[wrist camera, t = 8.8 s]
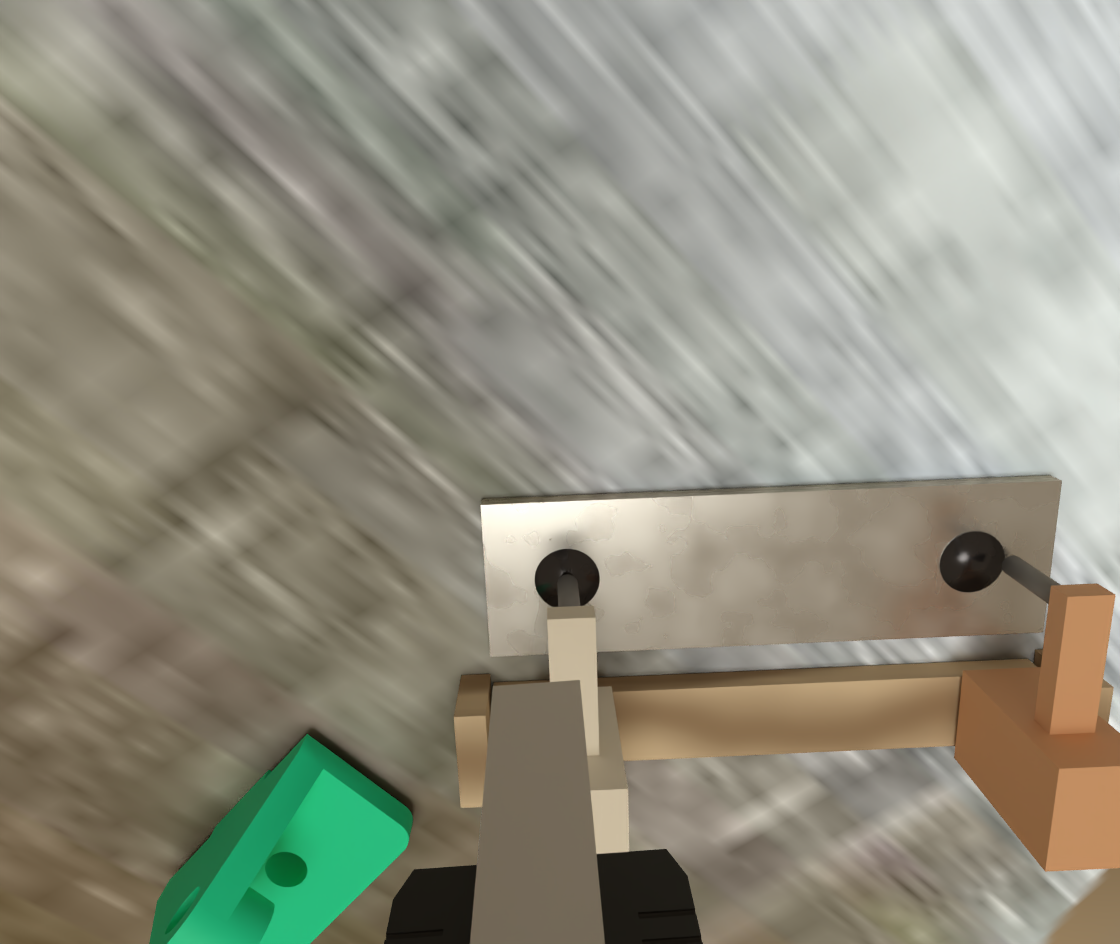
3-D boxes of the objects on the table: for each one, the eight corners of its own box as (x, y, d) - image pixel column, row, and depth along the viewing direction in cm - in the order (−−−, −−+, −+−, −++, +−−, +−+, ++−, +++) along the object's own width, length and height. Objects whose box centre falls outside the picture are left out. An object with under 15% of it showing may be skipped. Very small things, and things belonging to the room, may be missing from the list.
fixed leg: (525, 566, 41) (521, 647, 33) (608, 563, 41) (625, 643, 33) (535, 774, 44) (535, 895, 36) (613, 771, 44) (629, 891, 36)
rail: (461, 675, 44) (453, 717, 40) (1063, 648, 44) (1113, 687, 41) (467, 759, 45) (460, 807, 42) (1052, 732, 46) (1099, 778, 42)
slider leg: (972, 547, 41) (1079, 623, 33) (1054, 543, 41) (1181, 618, 33) (952, 755, 44) (1045, 871, 36) (1028, 751, 44) (1138, 867, 36)
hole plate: (482, 498, 42) (480, 505, 41) (1049, 475, 42) (1062, 481, 41) (491, 647, 44) (490, 657, 43) (1031, 623, 44) (1043, 632, 43)
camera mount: (288, 940, 48) (223, 1120, 39) (177, 866, 47) (80, 1033, 37) (424, 804, 46) (392, 958, 36) (312, 722, 45) (247, 859, 35)
